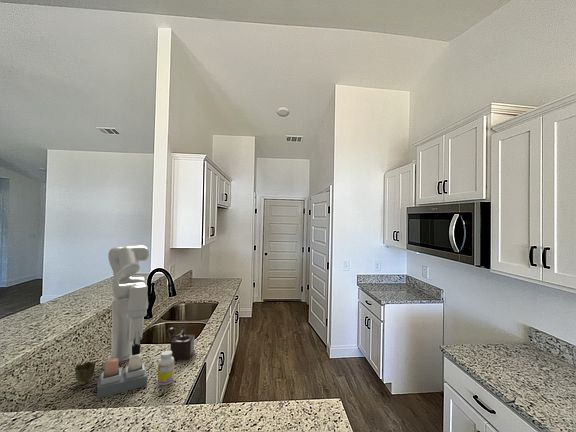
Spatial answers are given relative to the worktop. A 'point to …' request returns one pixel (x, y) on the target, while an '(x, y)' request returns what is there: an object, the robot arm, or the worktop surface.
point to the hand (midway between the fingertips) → (135, 354)
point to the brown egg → (111, 366)
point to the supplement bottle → (166, 368)
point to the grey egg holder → (121, 381)
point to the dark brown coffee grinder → (181, 344)
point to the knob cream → (135, 361)
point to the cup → (84, 372)
